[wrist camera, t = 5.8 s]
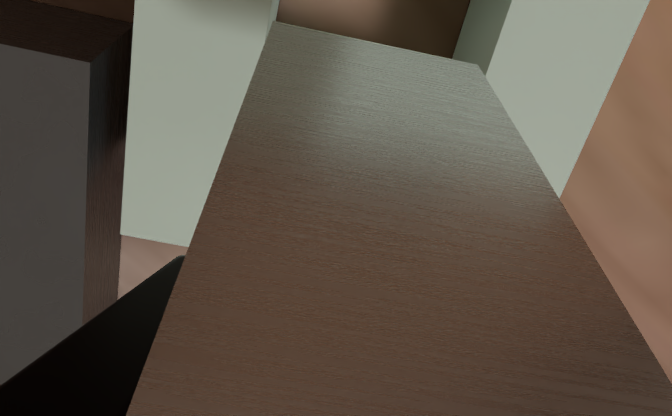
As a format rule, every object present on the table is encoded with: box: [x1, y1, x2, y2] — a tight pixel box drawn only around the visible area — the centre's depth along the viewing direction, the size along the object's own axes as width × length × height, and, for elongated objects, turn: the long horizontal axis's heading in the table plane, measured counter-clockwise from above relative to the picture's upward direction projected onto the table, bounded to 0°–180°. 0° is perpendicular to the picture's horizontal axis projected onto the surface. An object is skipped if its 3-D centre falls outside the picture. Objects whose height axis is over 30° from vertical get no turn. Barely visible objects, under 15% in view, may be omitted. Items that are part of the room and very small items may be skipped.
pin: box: [126, 21, 672, 416], centre depth 9 cm, size 4×4×10 cm
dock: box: [120, 0, 650, 247], centre depth 18 cm, size 12×12×4 cm
